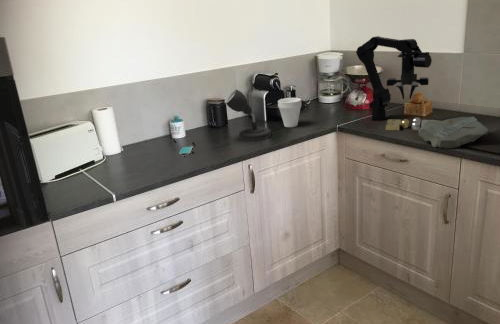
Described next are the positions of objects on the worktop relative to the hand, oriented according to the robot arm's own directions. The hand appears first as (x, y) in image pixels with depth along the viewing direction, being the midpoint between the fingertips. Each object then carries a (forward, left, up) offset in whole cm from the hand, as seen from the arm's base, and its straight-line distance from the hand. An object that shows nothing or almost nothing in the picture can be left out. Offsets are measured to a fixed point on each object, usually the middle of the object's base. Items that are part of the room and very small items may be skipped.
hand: (406, 99), depth 209 cm
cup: (-57, -8, -12) cm, 59 cm away
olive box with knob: (-3, -8, -12) cm, 15 cm away
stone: (+20, -27, -12) cm, 36 cm away
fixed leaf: (+8, -8, -12) cm, 16 cm away
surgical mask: (-93, -55, -13) cm, 109 cm away
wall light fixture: (-71, -31, -12) cm, 78 cm away
